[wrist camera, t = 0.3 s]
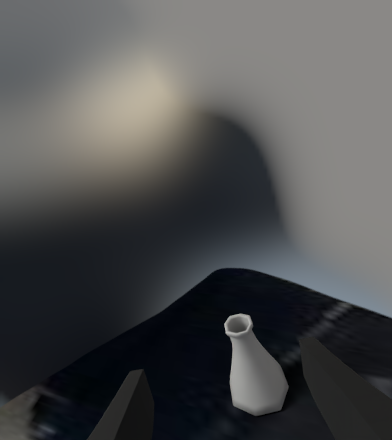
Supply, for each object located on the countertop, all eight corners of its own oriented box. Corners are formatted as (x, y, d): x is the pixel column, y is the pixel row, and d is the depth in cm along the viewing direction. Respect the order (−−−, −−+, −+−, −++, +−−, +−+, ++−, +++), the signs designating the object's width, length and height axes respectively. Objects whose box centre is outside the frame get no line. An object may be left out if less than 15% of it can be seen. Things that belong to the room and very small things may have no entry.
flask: (288, 361, 33) (271, 299, 30) (290, 421, 27) (270, 351, 24) (234, 360, 36) (214, 303, 33) (225, 414, 30) (199, 350, 27)
